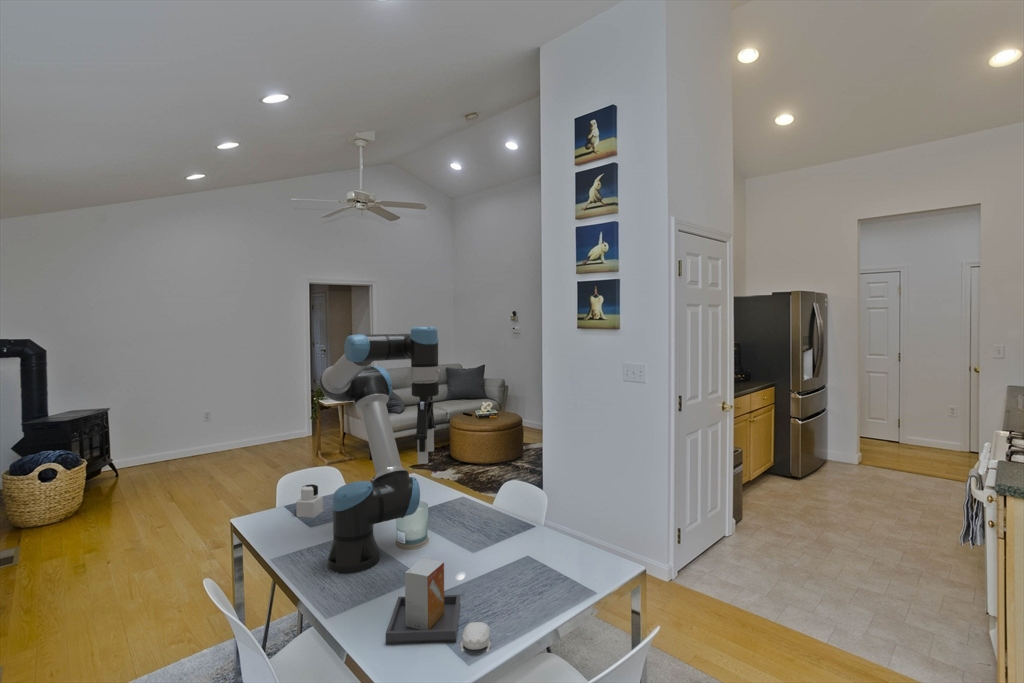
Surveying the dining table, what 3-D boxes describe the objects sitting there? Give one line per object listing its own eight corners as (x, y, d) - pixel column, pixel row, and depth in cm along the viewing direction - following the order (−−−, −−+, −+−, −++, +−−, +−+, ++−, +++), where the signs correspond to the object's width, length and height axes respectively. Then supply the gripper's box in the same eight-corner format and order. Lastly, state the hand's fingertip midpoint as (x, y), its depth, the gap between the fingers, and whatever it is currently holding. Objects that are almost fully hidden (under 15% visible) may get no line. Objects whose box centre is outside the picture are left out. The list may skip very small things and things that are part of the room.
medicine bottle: (306, 513, 195) (305, 482, 195) (323, 514, 194) (323, 483, 194) (296, 520, 188) (295, 488, 188) (313, 520, 187) (313, 489, 187)
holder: (385, 644, 112) (385, 633, 112) (398, 606, 128) (398, 596, 128) (455, 641, 113) (455, 630, 113) (460, 604, 128) (459, 594, 128)
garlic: (489, 656, 108) (489, 638, 108) (458, 655, 108) (458, 638, 108) (492, 633, 116) (492, 617, 116) (463, 633, 116) (463, 617, 116)
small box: (428, 632, 116) (427, 576, 115) (404, 626, 118) (403, 572, 118) (445, 613, 123) (444, 561, 123) (423, 609, 125) (422, 557, 125)
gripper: (433, 386, 128) (434, 468, 129) (442, 377, 153) (443, 446, 154) (403, 386, 128) (405, 469, 128) (418, 377, 153) (419, 447, 153)
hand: (426, 457), depth 141 cm, fingers open, 13 cm apart
